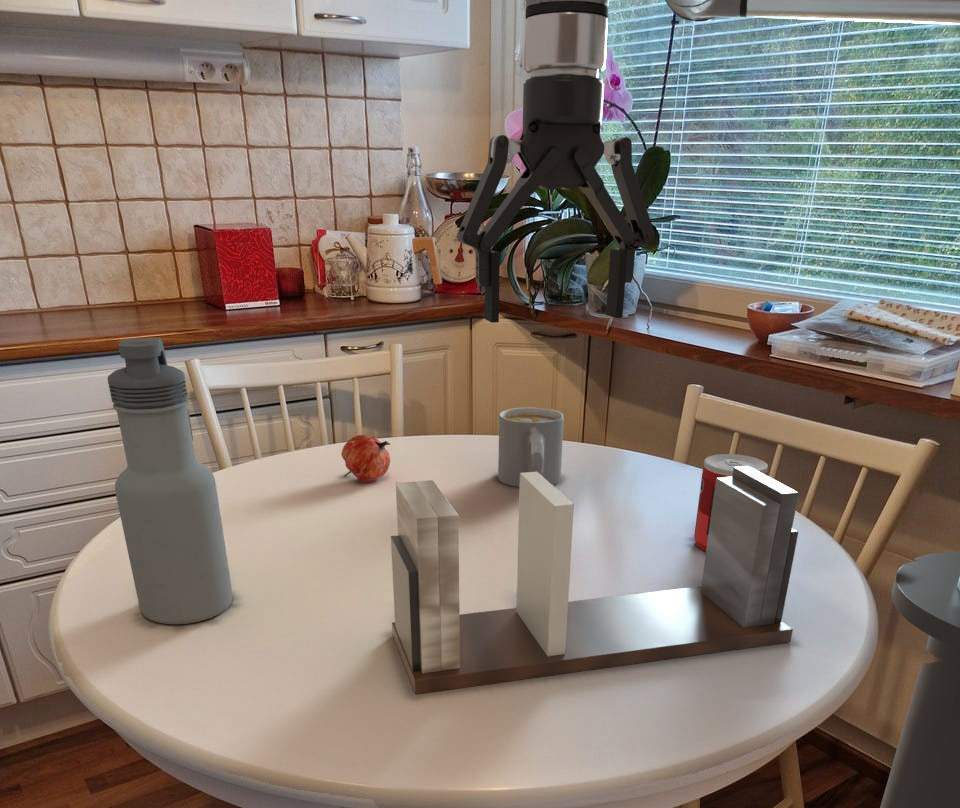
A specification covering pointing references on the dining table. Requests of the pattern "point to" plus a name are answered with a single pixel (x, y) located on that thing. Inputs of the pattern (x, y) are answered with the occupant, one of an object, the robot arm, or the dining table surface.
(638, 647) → the book shelf
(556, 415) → the coffee mug
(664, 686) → the dining table surface
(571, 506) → the white book
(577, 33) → the robot arm
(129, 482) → the water bottle
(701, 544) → the canned food
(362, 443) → the pomegranate
